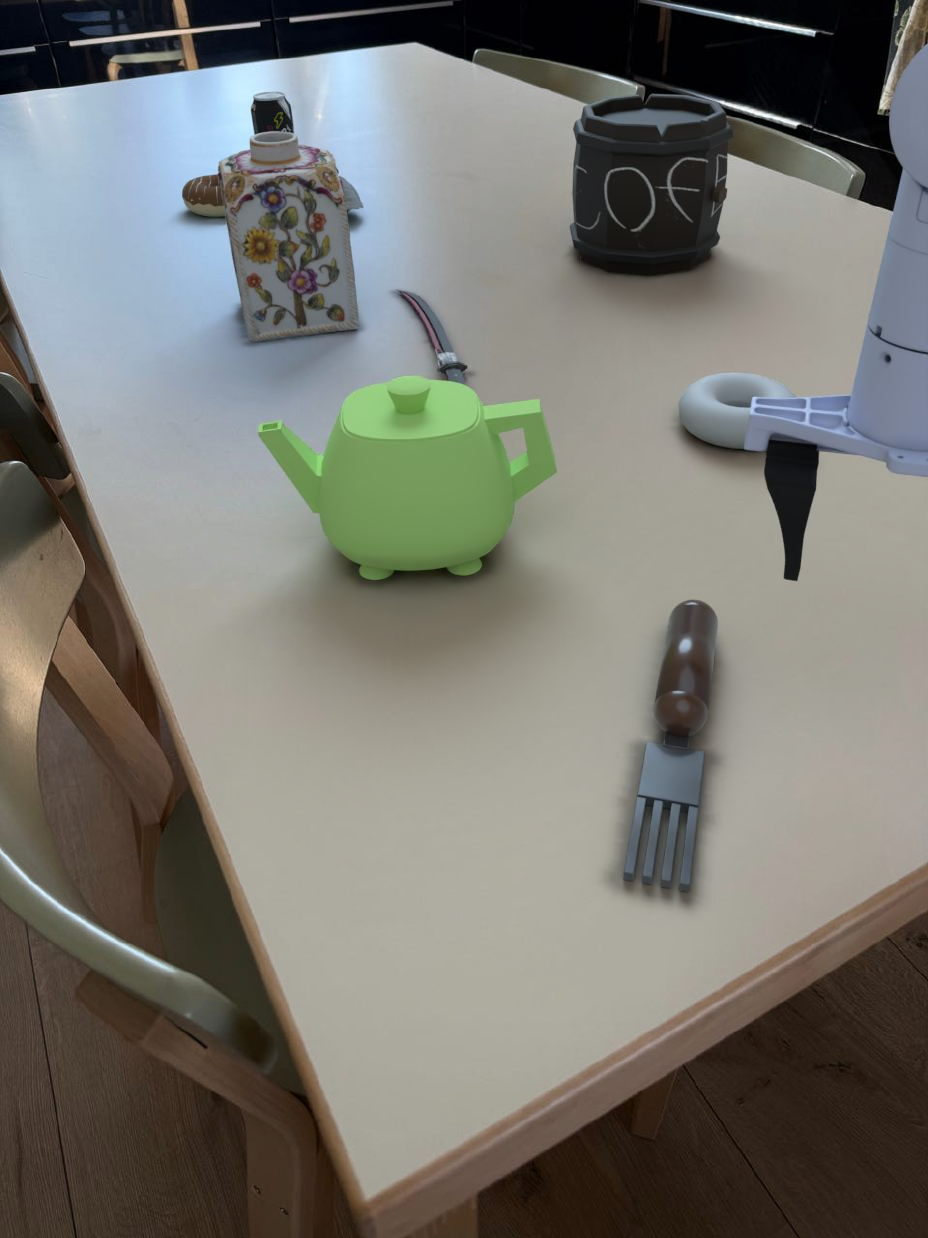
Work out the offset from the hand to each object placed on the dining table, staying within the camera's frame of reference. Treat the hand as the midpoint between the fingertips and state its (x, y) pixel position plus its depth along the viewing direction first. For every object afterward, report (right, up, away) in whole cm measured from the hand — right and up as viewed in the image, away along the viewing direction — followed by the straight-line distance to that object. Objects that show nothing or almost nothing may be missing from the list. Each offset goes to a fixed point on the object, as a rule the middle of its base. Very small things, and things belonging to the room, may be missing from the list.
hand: (867, 580), depth 51 cm
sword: (-25, +26, +48) cm, 60 cm away
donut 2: (-55, +55, +86) cm, 116 cm away
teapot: (-24, +3, +21) cm, 32 cm away
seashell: (-39, +52, +82) cm, 105 cm away
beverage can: (-48, +63, +95) cm, 124 cm away
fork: (-9, -9, +4) cm, 13 cm away
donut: (+2, +14, +33) cm, 36 cm away
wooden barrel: (+1, +42, +67) cm, 79 cm away
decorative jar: (-39, +30, +55) cm, 74 cm away
